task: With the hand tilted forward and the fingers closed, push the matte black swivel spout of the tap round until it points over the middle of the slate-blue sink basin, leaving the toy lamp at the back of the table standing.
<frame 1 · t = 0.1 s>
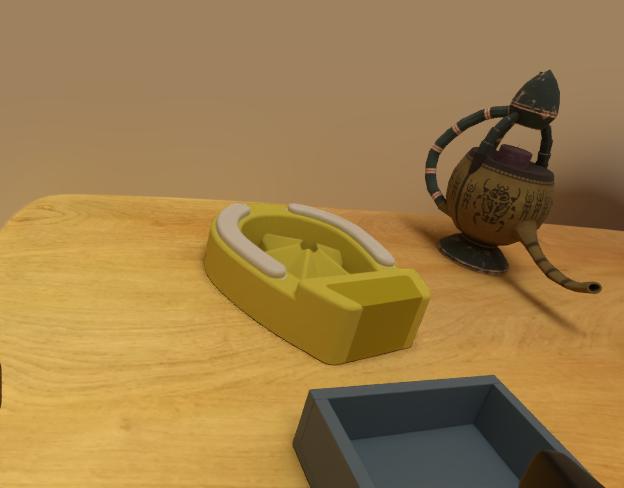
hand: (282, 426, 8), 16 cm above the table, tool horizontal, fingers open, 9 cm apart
teapot: (490, 272, 62), on the table
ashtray: (303, 287, 47), on the table
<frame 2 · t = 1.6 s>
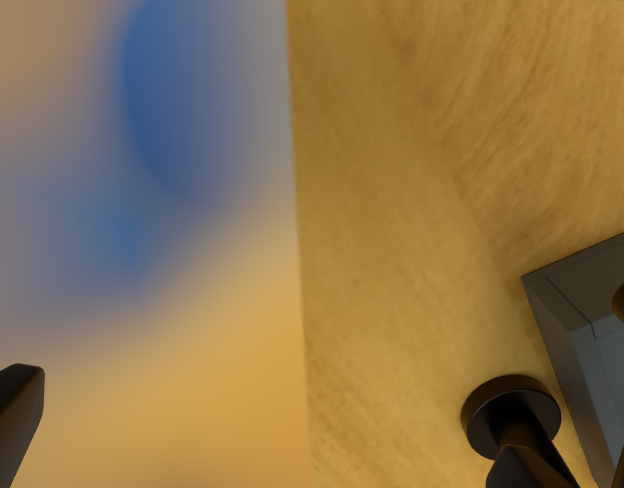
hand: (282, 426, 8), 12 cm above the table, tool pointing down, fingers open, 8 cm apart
tap column: (506, 411, 25), on the table
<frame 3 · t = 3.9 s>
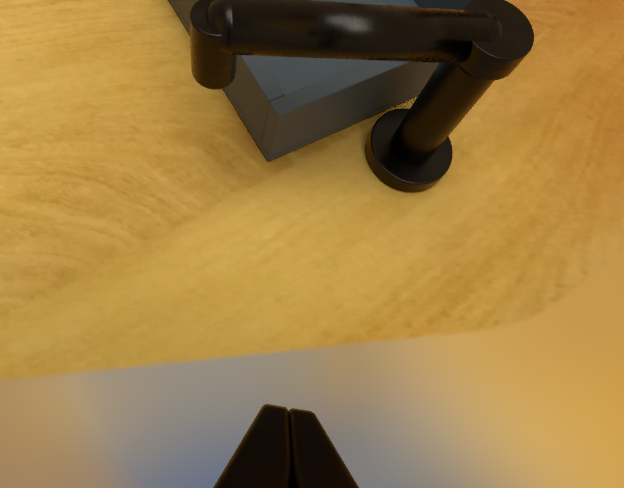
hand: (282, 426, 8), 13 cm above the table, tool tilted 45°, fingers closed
tap column: (405, 154, 27), on the table
sink: (308, 12, 29), on the table
spout: (363, 47, 19), point 8 cm above the table, hinge at 0.0°, touching tap column
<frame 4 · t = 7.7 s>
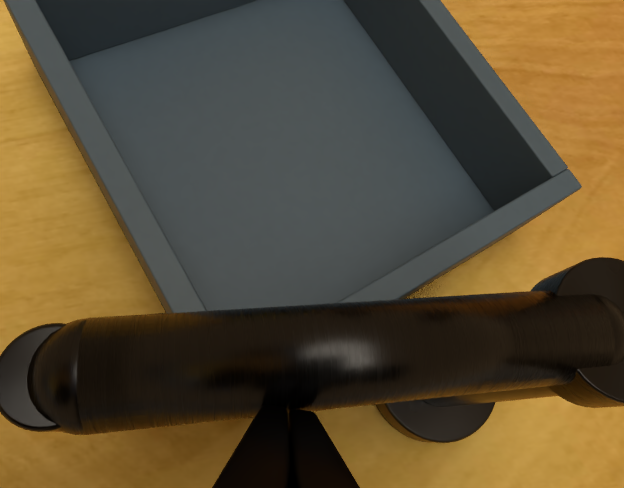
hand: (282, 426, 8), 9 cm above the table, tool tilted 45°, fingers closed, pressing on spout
tap column: (427, 375, 18), on the table
sink: (284, 151, 20), on the table
spout: (364, 356, 10), point 8 cm above the table, hinge at 0.7°, touching gripper, tap column
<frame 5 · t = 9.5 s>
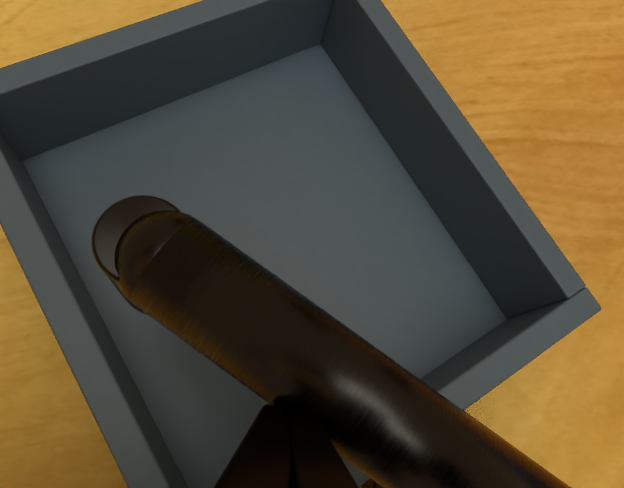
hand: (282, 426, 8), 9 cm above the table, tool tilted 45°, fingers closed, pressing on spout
sink: (271, 248, 18), on the table
spout: (382, 426, 9), point 8 cm above the table, hinge at 40.9°, touching gripper, tap column
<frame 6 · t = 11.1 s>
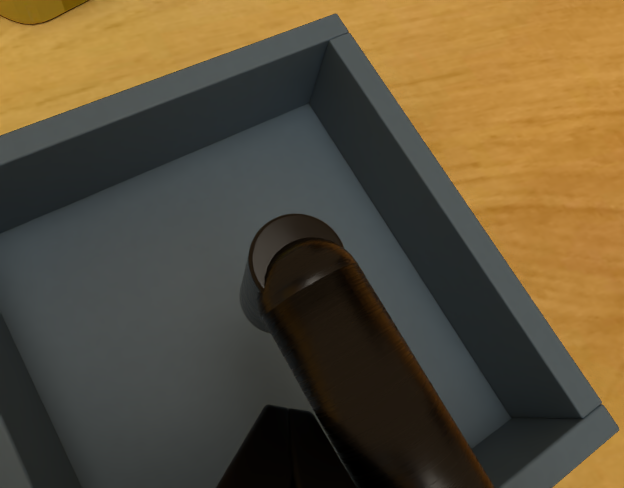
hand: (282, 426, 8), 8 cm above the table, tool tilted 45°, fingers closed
sink: (251, 338, 17), on the table
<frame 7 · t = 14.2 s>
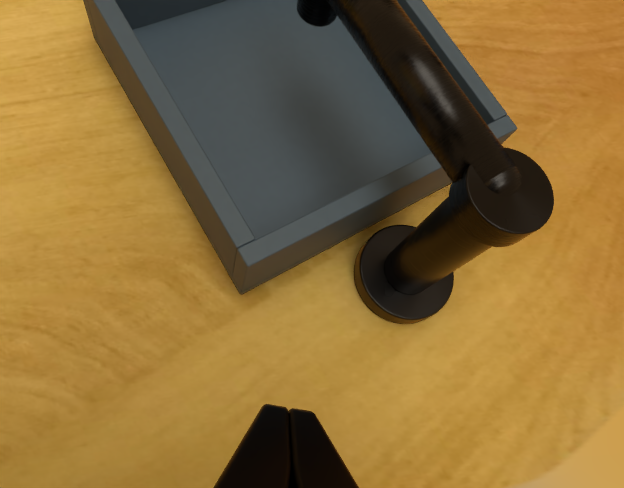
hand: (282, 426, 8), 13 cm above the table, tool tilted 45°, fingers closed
tap column: (399, 276, 24), on the table
sink: (289, 106, 26), on the table
spout: (406, 91, 17), point 8 cm above the table, hinge at 65.4°, touching tap column
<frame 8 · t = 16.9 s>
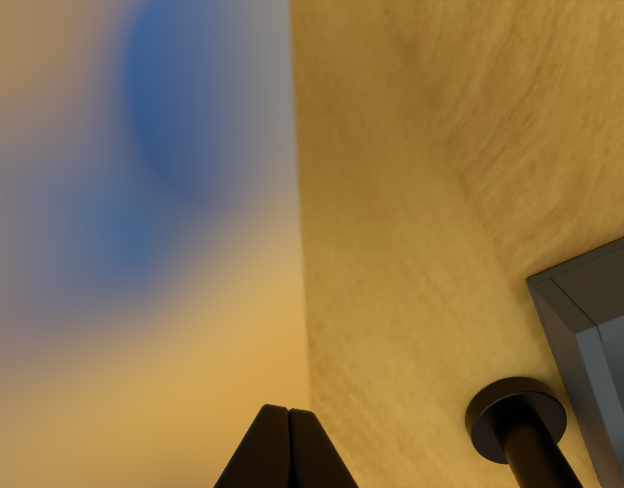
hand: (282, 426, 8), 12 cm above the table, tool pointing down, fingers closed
tap column: (510, 414, 24), on the table
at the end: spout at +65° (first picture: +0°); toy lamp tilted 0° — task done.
